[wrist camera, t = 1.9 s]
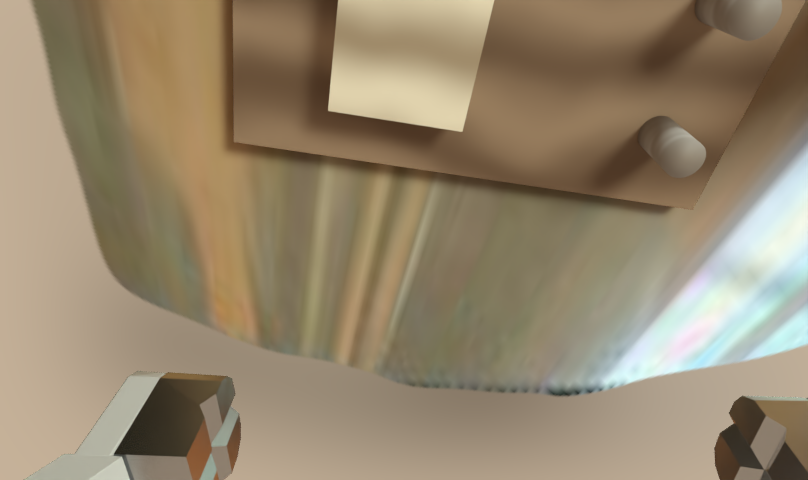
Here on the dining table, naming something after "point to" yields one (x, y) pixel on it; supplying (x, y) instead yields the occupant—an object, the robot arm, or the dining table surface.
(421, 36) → the birch plate
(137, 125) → the dining table surface
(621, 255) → the dining table surface
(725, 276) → the dining table surface
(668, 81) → the board
